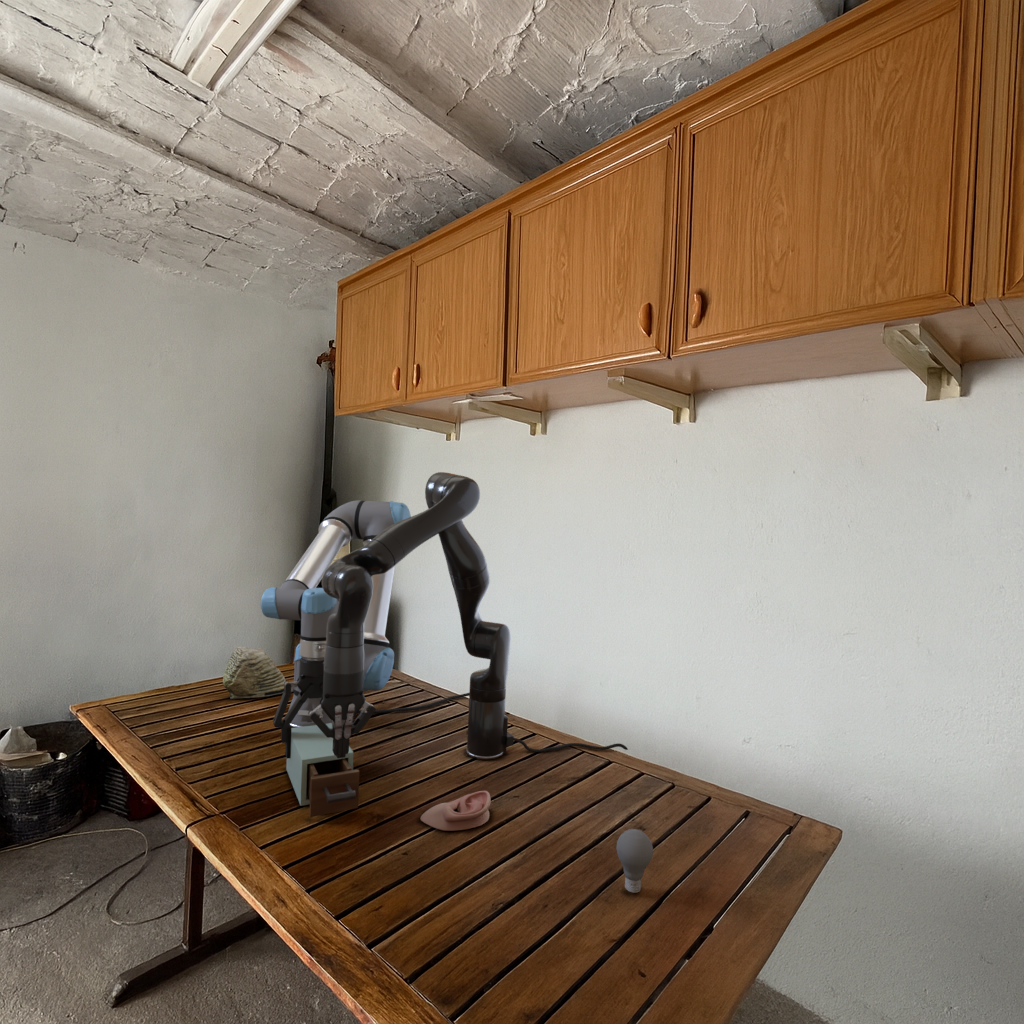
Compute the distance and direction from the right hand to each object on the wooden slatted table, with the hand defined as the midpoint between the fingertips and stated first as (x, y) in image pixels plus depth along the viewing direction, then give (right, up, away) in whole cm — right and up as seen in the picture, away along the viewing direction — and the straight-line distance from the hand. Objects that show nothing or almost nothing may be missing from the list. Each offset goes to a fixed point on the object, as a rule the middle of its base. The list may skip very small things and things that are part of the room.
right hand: (340, 756), depth 122 cm
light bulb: (+53, -16, -17) cm, 58 cm away
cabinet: (-10, -13, +18) cm, 24 cm away
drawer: (-5, -12, +8) cm, 16 cm away
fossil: (-47, -10, +76) cm, 90 cm away
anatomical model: (+22, -14, +5) cm, 27 cm away
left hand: (-12, -8, +23) cm, 27 cm away
